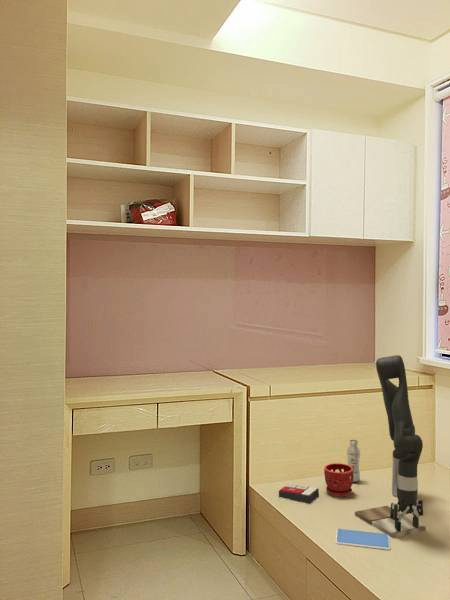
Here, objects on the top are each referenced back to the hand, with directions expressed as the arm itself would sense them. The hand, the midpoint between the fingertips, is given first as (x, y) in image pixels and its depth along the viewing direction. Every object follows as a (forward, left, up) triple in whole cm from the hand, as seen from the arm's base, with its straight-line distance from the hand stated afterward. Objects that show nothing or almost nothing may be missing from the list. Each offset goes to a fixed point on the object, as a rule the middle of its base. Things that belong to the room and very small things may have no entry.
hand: (406, 528), depth 205 cm
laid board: (0, -16, -2) cm, 16 cm away
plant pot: (0, -44, -2) cm, 44 cm away
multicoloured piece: (+19, -48, -2) cm, 51 cm away
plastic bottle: (-16, -54, -2) cm, 56 cm away
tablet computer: (+19, -2, -2) cm, 20 cm away
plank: (0, -5, -2) cm, 5 cm away
